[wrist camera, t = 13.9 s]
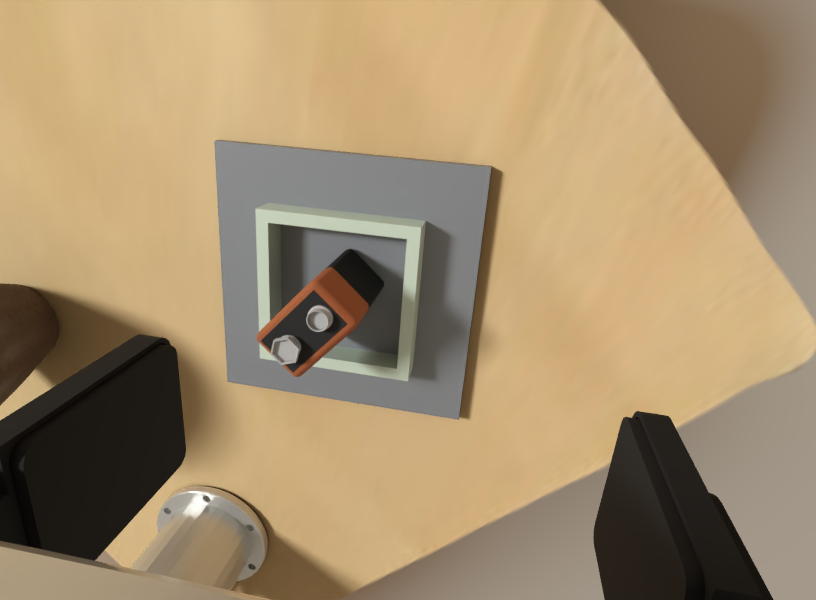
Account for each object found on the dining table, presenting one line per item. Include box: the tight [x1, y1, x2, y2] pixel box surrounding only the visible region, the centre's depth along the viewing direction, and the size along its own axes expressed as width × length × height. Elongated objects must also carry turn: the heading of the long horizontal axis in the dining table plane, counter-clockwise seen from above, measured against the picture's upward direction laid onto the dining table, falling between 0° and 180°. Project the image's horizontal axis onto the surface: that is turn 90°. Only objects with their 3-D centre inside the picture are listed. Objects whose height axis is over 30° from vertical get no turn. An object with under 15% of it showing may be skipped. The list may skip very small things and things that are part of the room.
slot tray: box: [214, 140, 492, 420], centre depth 44 cm, size 22×22×4 cm
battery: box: [257, 249, 384, 377], centre depth 40 cm, size 4×7×10 cm, turn 134°
